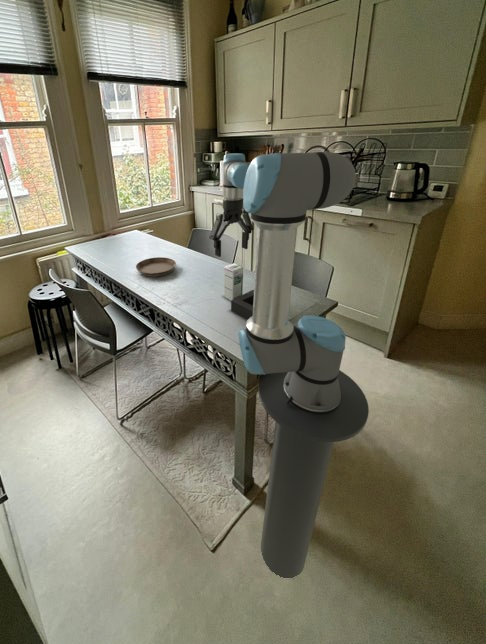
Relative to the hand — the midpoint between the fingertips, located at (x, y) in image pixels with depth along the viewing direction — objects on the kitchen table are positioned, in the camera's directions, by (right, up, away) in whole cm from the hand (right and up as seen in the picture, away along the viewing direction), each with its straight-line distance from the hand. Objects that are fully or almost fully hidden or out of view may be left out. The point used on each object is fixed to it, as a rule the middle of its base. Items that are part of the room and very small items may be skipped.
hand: (231, 251), depth 125 cm
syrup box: (+2, -19, +11) cm, 22 cm away
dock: (+9, -24, 0) cm, 25 cm away
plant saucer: (-34, -7, +39) cm, 52 cm away
